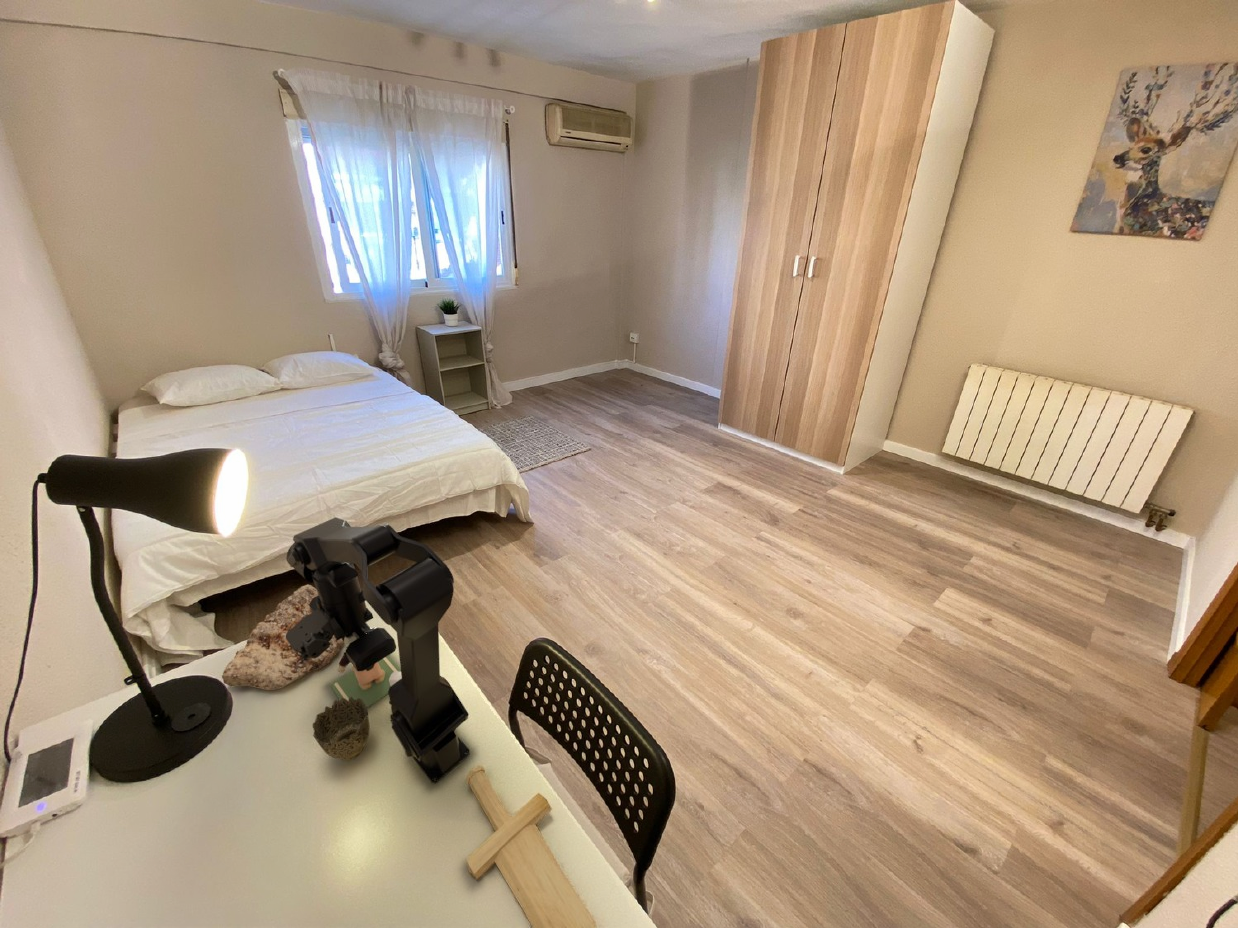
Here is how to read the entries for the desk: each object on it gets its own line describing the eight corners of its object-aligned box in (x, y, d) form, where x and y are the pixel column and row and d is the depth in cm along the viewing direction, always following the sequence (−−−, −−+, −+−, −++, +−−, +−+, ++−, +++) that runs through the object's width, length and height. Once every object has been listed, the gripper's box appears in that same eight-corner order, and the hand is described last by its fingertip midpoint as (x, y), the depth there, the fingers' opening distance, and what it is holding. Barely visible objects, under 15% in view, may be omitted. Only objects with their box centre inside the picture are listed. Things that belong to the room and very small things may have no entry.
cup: (326, 738, 81) (313, 706, 77) (376, 721, 84) (366, 689, 80) (324, 782, 75) (310, 750, 71) (378, 762, 78) (367, 730, 74)
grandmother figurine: (385, 662, 93) (370, 612, 87) (395, 674, 91) (380, 624, 85) (342, 688, 88) (323, 637, 82) (351, 702, 86) (333, 651, 80)
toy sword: (438, 809, 73) (559, 1046, 53) (432, 799, 71) (555, 1041, 52) (511, 750, 79) (642, 943, 60) (507, 740, 77) (642, 935, 58)
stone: (214, 683, 89) (279, 722, 86) (202, 654, 84) (270, 694, 81) (321, 598, 107) (378, 628, 104) (316, 570, 103) (375, 600, 99)
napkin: (408, 679, 91) (408, 678, 91) (352, 717, 84) (352, 716, 84) (384, 652, 96) (384, 650, 96) (330, 685, 89) (329, 684, 89)
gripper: (262, 589, 79) (291, 657, 87) (308, 655, 69) (337, 726, 76) (335, 556, 87) (356, 621, 94) (387, 611, 76) (406, 679, 84)
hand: (362, 659), depth 87 cm, fingers open, 5 cm apart
